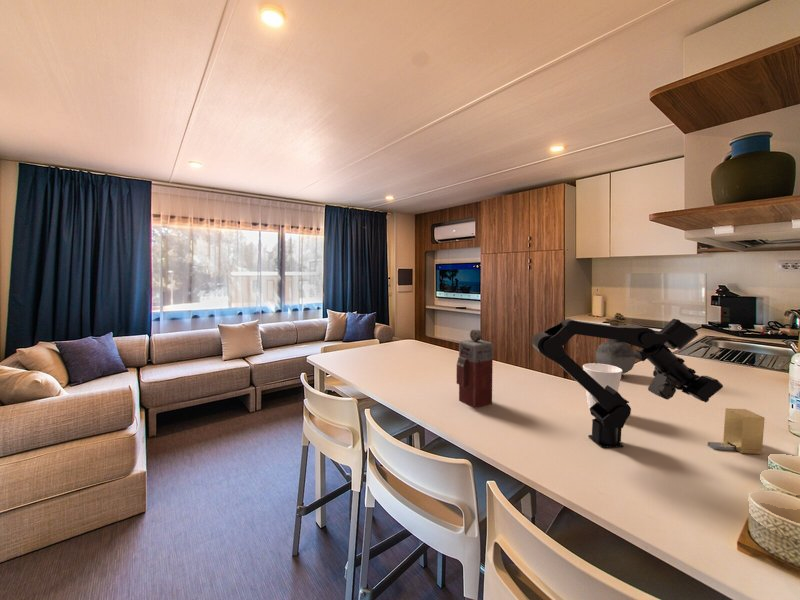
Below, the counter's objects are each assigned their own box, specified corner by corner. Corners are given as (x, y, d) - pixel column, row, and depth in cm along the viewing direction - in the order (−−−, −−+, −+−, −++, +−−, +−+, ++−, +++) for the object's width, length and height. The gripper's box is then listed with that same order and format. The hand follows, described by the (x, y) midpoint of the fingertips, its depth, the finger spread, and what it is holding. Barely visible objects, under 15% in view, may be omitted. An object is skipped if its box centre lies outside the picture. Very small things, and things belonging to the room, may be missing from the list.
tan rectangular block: (740, 452, 89) (743, 416, 88) (723, 442, 94) (725, 408, 94) (761, 454, 88) (764, 417, 87) (742, 443, 94) (745, 409, 93)
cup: (584, 416, 113) (585, 370, 111) (578, 403, 124) (580, 361, 122) (625, 421, 108) (627, 374, 107) (615, 408, 120) (617, 364, 118)
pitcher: (591, 374, 160) (593, 312, 158) (624, 371, 164) (626, 311, 162) (609, 381, 150) (612, 315, 147) (644, 377, 154) (647, 313, 151)
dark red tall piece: (453, 401, 127) (454, 329, 125) (476, 396, 133) (476, 326, 130) (469, 409, 119) (469, 332, 117) (492, 403, 125) (493, 330, 123)
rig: (714, 449, 91) (715, 428, 90) (690, 434, 100) (691, 414, 99) (769, 452, 89) (770, 430, 89) (740, 436, 98) (741, 416, 98)
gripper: (623, 370, 102) (660, 406, 102) (664, 391, 84) (709, 436, 83) (652, 346, 101) (690, 382, 100) (700, 362, 82) (746, 407, 82)
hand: (706, 401), depth 91 cm, fingers closed
